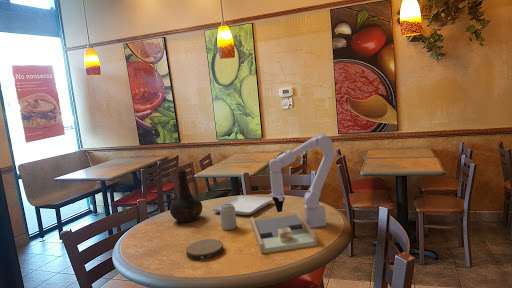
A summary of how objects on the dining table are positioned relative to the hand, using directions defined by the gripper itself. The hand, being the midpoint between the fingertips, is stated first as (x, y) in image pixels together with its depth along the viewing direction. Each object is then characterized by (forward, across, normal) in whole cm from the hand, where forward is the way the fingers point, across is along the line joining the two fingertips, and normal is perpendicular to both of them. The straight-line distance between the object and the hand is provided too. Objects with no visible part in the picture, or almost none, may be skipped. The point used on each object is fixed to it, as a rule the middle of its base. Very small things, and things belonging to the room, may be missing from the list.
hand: (279, 211), depth 185 cm
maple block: (+6, +20, -2) cm, 21 cm away
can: (+8, -10, -24) cm, 28 cm away
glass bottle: (+8, -34, -46) cm, 57 cm away
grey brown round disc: (+8, +16, -37) cm, 41 cm away
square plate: (+9, -40, -14) cm, 43 cm away
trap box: (+8, +8, -2) cm, 12 cm away
